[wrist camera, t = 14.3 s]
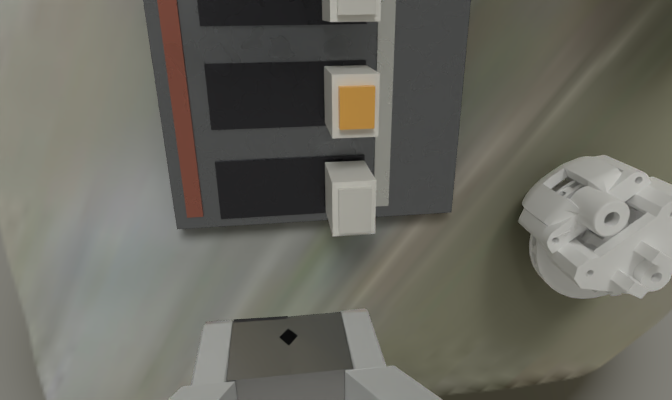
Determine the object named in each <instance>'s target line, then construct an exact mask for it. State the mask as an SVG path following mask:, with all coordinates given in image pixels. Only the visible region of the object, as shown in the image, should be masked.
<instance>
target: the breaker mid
mask: <svg viewBox="0 0 672 400" xmlns="http://www.w3.org/2000/svg"><path fill="white" fill-rule="evenodd" d="M379 93H380V73H379V72H377V71H375V70H374V69H372V68H370V67H369V66H367V65H351V66H324V102H325V124H326V126H327V128H328V130H329V132H330V135H331V137H332V139H335V138H359V137H378V131H379Z"/></svg>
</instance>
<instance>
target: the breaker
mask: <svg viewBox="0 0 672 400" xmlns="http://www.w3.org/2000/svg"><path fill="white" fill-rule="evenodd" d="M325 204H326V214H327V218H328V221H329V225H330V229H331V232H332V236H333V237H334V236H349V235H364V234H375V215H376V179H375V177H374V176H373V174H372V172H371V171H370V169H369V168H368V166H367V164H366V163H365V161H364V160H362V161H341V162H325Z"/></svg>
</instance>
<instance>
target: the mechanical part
mask: <svg viewBox="0 0 672 400" xmlns="http://www.w3.org/2000/svg"><path fill="white" fill-rule="evenodd" d="M564 179H565V181H563V182H561V181H562V180H564ZM559 182H561V183H559ZM558 183H559V184H558ZM557 184H558V185H557ZM555 185H556V186H555ZM554 186H555V187H554ZM522 205H523V207H524V209H523V211H522V213H521V215H520V217H519V220H518V222H519V223H520V224H521V225H522V226H523V227H524V228H525V229H526V230H527V231H528V232H529V233H531V235H530V241H529V254H530V258H531V262H532V265H533V267H534V269H535V270H536V272H537V274H538V275H539V276H540V277H541V278H542V279H543V280H544V281H545V282H546V283H547V284H548V285H549V286H550V287H551V288H552V289H554V290H555V291H557V292H558V293H560V294H562V295H565V296H568V297H571V298H580V299H586V298H596V297H600V296H604V295H607V294H609V295H611V296H618V295H621V293H627V294H632V295H634V296H636V297H638V298H640V299H642V298H643V296H644V295H645V294H646V293H647V292H649V291H657V290H659V289H661V288H663V287H664V286H665V285H666V284H667V283H668V282H669V280H670V278H671V275H672V184H669V183H667V182H665V181H662V180H660V179H658V178H656V177H649V176H648V175H647V174H646V173H645V172H643V171H641V170H639V169H636V168H634V167H632V166H629V165H627V164H625V163H623V162H620V161H618V160H616V159H613V158H611V157H609V156H607V155H600V156H595V157H593V156H583V157H579V158H576V159H574V160H571V161H569V162H566V163H564V164H562V165H560V166H558V167H557V168H555V169H554V170H552V171H551V172H549V173H548V174H546V175H545V176H544V177H542V178H541V179H540V180H539V181H538V182H537V183H536V184H535V185H534V186H533V187H532V188H531V189H530V190H529V191H528V193H527V194H526V195H525V197H524V199H523V201H522Z"/></svg>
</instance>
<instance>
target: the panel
mask: <svg viewBox="0 0 672 400" xmlns="http://www.w3.org/2000/svg"><path fill="white" fill-rule="evenodd" d="M143 2H144V9H145V16H146V22H147V29H148V36H149V43H150V49H151V56H152V63H153V69H154V76H155V83H156V90H157V96H158V103H159V110H160V117H161V123H162V130H163V137H164V144H165V150H166V157H167V164H168V170H169V177H170V184H171V191H172V197H173V204H174V211H175V218H176V224H177V229H188V228H204V227H220V226H236V225H253V224H269V223H285V222H301V221H317V220H328V218H327V214H326V204H325V162H341V161H362V160H364V161H365V163H366V164H367V166H368V168H369V169H370V171H371V172H372V174H373V176H374V177H375V179H376V215H375V217H382V216H399V215H415V214H431V213H447V212H451V211H452V200H453V189H454V178H455V167H456V156H457V145H458V134H459V123H460V112H461V101H462V90H463V79H464V68H465V58H466V47H467V36H468V25H469V14H470V3H471V0H381V20H380V21H378V22H328V21H324V20H322V0H143ZM351 65H367V66H369V67H370V68H372V69H374V70H375V71H377V72H379V73H380V93H379V131H378V137H359V138H335V139H332V137H331V135H330V132H329V130H328V128H327V126H326V124H325V102H324V66H351Z"/></svg>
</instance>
